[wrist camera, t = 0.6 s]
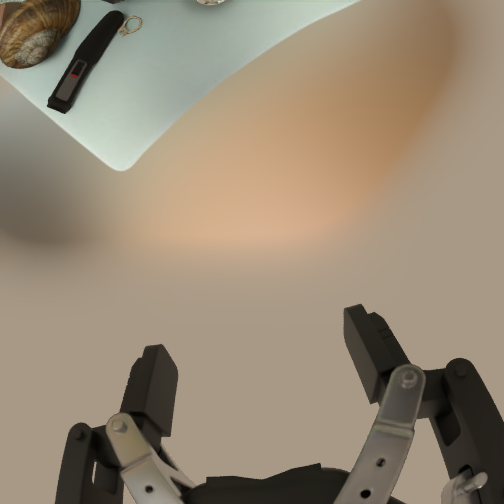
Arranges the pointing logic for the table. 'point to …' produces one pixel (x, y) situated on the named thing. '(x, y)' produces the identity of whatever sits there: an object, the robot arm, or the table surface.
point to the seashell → (35, 31)
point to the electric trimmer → (84, 61)
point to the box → (113, 1)
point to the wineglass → (210, 2)
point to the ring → (126, 29)
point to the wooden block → (6, 11)
